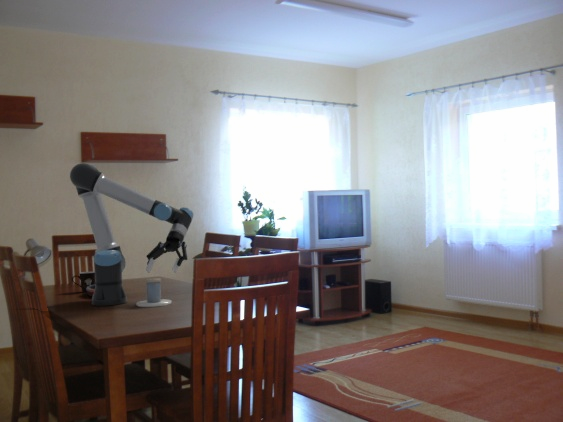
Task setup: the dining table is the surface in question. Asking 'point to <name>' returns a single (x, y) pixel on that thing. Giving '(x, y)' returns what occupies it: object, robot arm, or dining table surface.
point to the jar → (153, 290)
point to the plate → (145, 304)
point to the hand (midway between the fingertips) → (160, 271)
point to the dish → (91, 290)
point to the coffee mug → (86, 280)
